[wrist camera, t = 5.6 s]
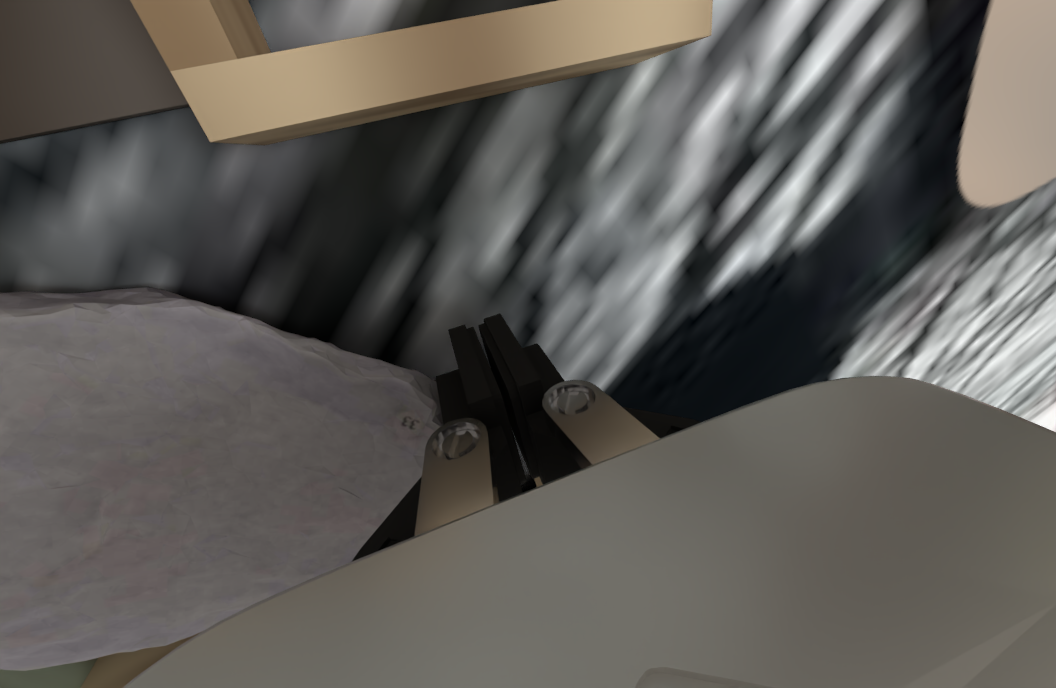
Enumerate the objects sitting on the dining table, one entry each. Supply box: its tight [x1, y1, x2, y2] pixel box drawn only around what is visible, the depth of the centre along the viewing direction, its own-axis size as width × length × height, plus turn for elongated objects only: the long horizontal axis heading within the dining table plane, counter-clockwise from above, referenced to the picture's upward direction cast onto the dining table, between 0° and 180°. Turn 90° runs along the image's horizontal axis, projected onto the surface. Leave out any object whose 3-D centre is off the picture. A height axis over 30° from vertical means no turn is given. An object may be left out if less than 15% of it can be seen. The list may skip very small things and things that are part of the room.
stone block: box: [0, 287, 443, 671], centre depth 11 cm, size 12×5×10 cm
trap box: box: [0, 0, 713, 688], centre depth 11 cm, size 24×23×4 cm
